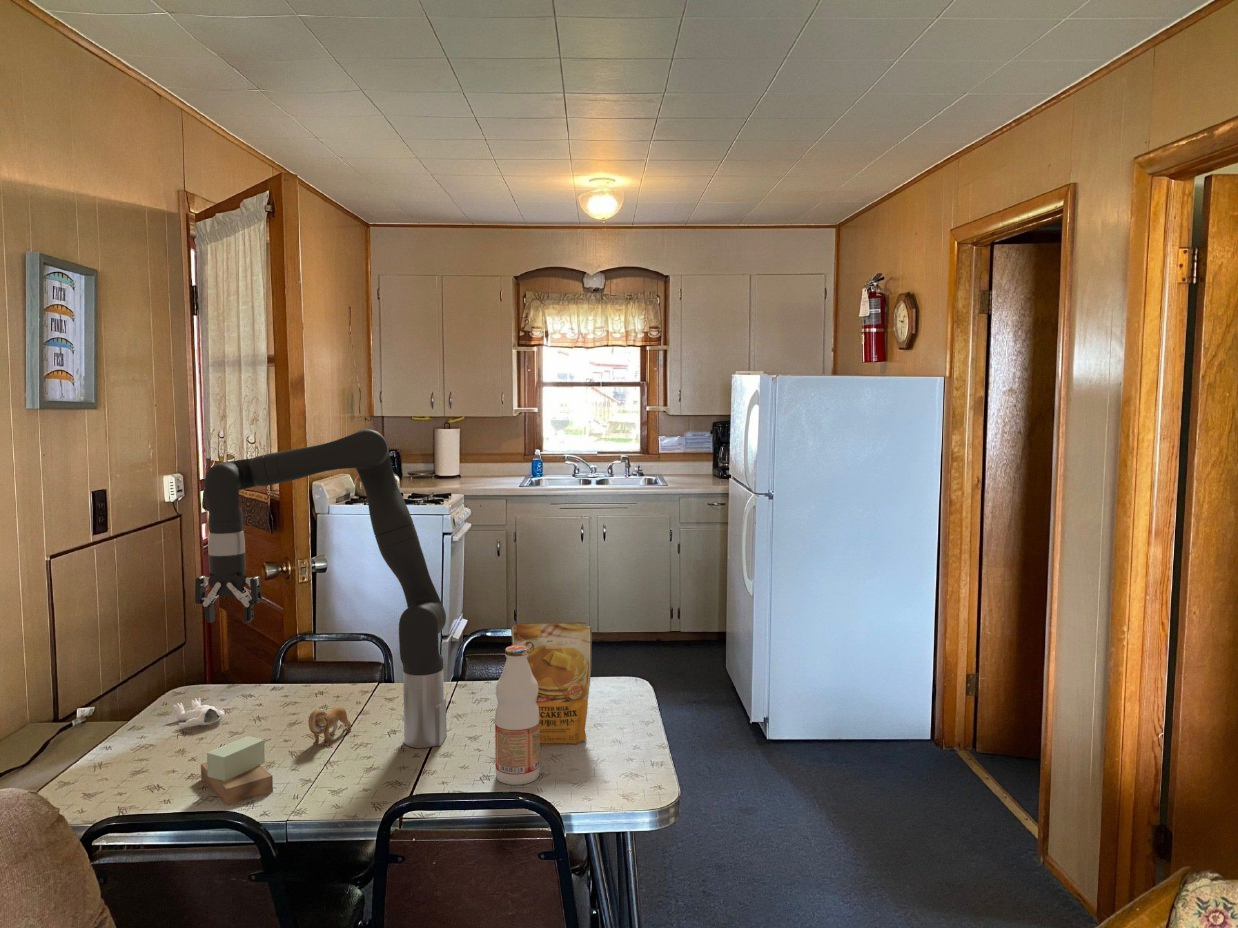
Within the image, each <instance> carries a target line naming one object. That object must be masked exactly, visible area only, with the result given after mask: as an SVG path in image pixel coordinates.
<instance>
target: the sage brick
mask: <svg viewBox="0 0 1238 928" xmlns="http://www.w3.org/2000/svg"><path fill="white" fill-rule="evenodd" d="M265 755H266V754H265V739H262V738H258V737H253V736H250V735H246V736H243V737H242V738H238V739H236V740H234V741H232V742H230V743H226V744H225V745H221V746H220V747H218V748H215V749H213V750H210V751H208V752H207V753H206V762H207V772H208V777H211V778H215V779H218V780H222V781H226V780H229V779H231V778H233V777H235V776H237V775H239V774H242V773H244V772H246V771H248V770H250V769H252V768H255V767H257V766H259V765H260V766H261V765H263V764H265V763H266V762H265V761H266V759H265V757H266V756H265Z"/></svg>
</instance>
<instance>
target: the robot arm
mask: <svg viewBox="0 0 1238 928" xmlns="http://www.w3.org/2000/svg"><path fill="white" fill-rule="evenodd" d="M391 460H392V459H391V456H390V447H389V444H388V441H387V439H386V438H385V437H384V436H383V435H382V434H381V433H380V432H379V431H377V430H373V429H371V428H370V429H367V428H365V429H360V430H358V431H356V432H355V433H352V434H349V435H347V436H344V437H341V438H338V439H336V440H333V441H329V442H325V443H321V444H317V445H316V444H315V445H311V446H305V447H301V448H293V449H287V450H282V451H277V452H271V453H267V454H261V455H258V456H255V457H251V458H244V459H237V460H236V459H235V460H231V461H225V462H221V463H217V464H215V465H213V466H211V467H209V469H208V470H207V471H206V473H205V477H204V492H205V499H206V503H207V509H208V542H207V543H208V547H207V551H208V571H209V577H208V576H206V575H202V576H201V575H200V576H198V577H196V578H195V582H194V583H195V587H194V588H195V589H194V591H195V592H194V603H195V604H196V605H202V606H203V608H204V620H205V621H206V623H208V624H212V623H214V622H215V621H216V614H215V613H216V612H215V611H216V610H215V604H214V602H215V601H216V600H217V598H219V597H220V598H221V597H222V598H223V597H230V598H234V597H235V598H236V599H237V600H238V601H240V602H241V603H242V605H243V606H244V607H243V622H244V624H249V623H251V622H252V620H253V619H254V617H255V614H254V606H255V605H257V604H259V603H261V602H263V595H262V584H261V578H260V576H259V575H257V576H254V577H247V575H246V574H247V573H246V569H247V567H246V565H247V564H246V538H245V533H244V515H243V509H242V508H241V506H240V493H239V491H242V490H243V491H244V490H246V489H250V488H254V487H255V488H256V487H268V486H273V485H278V484H282V483H288V482H292V481H296V480H300V479H303V478H306V477H310V476H313V475H317V474H320V473H325V472H329V471H335V470H342V469H343V470H345V469H346V470H348V469H356V472H357V473H358V476H359V480H361V484H362V486H363V488H364V492H365V494H366V498H367V505H368V513H369V518H370V522H371V526H372V531H373V534H374V537H375V540H376V544H377V546H378V549H379V550H378V551H379V552H380V555H381V556H382V558H383V560H384V562H385V563H386V565H387V567H389V569H390V571H392V573H393V574H394V576H395V578H396V579H397V580H398V582H399V583H400V586H401V588H402V591H403V594H404V598H405V601H406V605H407V606H406V607H407V608H406V609H405V610H404V611H403V612H402V613H401V615H400V618H399V622H398V645H399V657H400V661H401V663H402V672H403V673H402V676H403V677H402V680H403V681H402V685H403V689H402V690H403V723H404V724H403V736H404V738H403V739H404V741H403V742H404V744H405V745H406V746H407V747H410V748H414V749H415V748H416V749H425V748H433V747H436V746H437V747H439V746H442V745H443V742H444V741H445V739H446V738H447V735H448V734H447V697H445V696H444V694H445V691H444V688H445V687H444V657H443V655H441V654H440V647H439V634H440V633H441V632H442V631H443V629H444V628H445V626H446V623H447V622H446V621H447V615H446V610H445V607H444V605H443V603H442V600H441V599H440V596H439V594H438V592H437V589H436V587H435V585H434V583H433V581H432V578H431V576H430V572H429V569H428V566H427V563H426V559H425V555H424V553H423V550H422V547H421V543H420V539H419V536H418V532H417V529H416V527H415V524H414V521H413V518H412V515H411V513H410V511H409V508H408V506H407V504H406V501H405V500H404V497H403V495H402V493H401V491H400V489H399V487H398V485H397V481H396V477H395V475H394V470H393V466H392V461H391ZM208 585H209V586H210V587H211V590H210V591H209V593H208V594H207V586H208ZM246 585H248V587H249V588H250V592H249V591H248V589H247V588H246ZM250 594H251V595H250Z"/></svg>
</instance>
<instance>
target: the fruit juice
mask: <svg viewBox="0 0 1238 928" xmlns="http://www.w3.org/2000/svg"><path fill="white" fill-rule="evenodd" d="M528 653H529V652H528V647H526V646H521V645H514V646H512V645H510V646H507V647H506V648H505V650H504V654H505V658H506V660H505V664H504V667H503V670H502V673H501V676H500V677H499V679H498V680H497V682H496V685H495V697H496V699H497V705H496V708H495V713H494V718H495V719H494V731H495V733H494V735H495V736H494V738H495V741H494V743H495V745H494V746H495V747H494V749H495V750H494V751H495V755H494V757H495V759H494V761H495V776H496V779H497V780H498V781H499V782H500V783H502V784H505V785H509V786H519V785H526V784H529V783H532V782H534V781H536V780H537V779H538V777H539V776H540V772H541V771H540V767H541V766H540V763H541V762H540V759H541V758H540V756H541V755H540V754H541V753H540V749H541V748H540V741H539V708H538V705H537V702H536V700H537V696H538V691H539V689H538V683H537V681H536V679H535V677H534V676H533V674H532V671H531V668H530V666H529V663H528V660H527V656H528Z"/></svg>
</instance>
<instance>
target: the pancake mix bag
mask: <svg viewBox="0 0 1238 928" xmlns="http://www.w3.org/2000/svg"><path fill="white" fill-rule="evenodd" d="M510 634H511V646H514V645H521V646H526V647H528V652H529V653H528V656H527V660H528V663H529V666H530V668H531V671H532V674H533V676H534V677H535V679H536V681H537V683H538V689H539V691H538V696H537V700H536V702H537V705H538V708H539V741H540V745H541V746H548V745H549V746H551V745H552V746H553V745H554V746H555V745H558V746H559V745H561V746H562V745H565V746H569V745H578V744H579V743H581V742H587V741H588V740H587V734H586V725H587V723H586V722H587V716H588V708H589V707H588V705H589V694H590V685H591V673H592V650H593V649H592V645H593V643H592V642H593V630H592V626H591V625H589V626H588V625H587V622H581V621H579V622H577V621H576V622H526V623H525V622H524V623H523V622H522V623H516V624H514V625H513V626H511V627H510Z"/></svg>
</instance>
